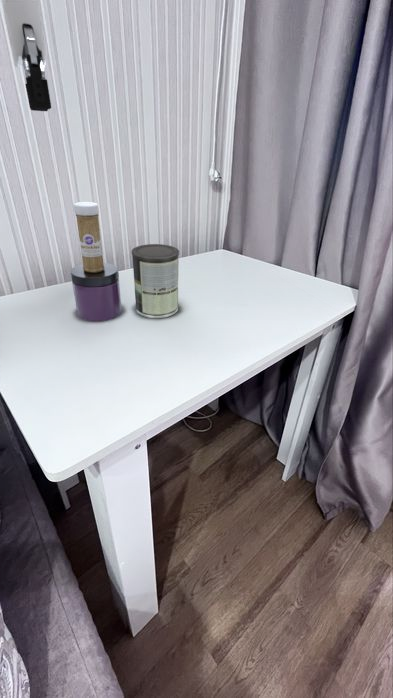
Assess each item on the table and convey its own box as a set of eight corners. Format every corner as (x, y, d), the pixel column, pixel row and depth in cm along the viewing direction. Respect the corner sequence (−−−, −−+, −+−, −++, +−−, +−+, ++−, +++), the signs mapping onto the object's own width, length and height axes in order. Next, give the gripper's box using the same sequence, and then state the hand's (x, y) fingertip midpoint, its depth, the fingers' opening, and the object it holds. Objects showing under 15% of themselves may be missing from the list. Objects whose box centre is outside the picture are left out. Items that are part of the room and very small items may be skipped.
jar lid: (74, 289, 67) (73, 280, 66) (69, 272, 75) (68, 264, 74) (123, 283, 71) (122, 275, 70) (113, 268, 78) (112, 260, 77)
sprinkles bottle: (84, 274, 69) (74, 205, 62) (82, 267, 73) (72, 201, 66) (106, 272, 71) (99, 204, 64) (103, 265, 74) (95, 200, 67)
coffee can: (126, 310, 79) (121, 250, 71) (155, 296, 86) (153, 241, 78) (159, 323, 74) (157, 261, 66) (187, 307, 81) (188, 250, 73)
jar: (80, 324, 72) (73, 283, 67) (75, 305, 79) (68, 267, 74) (126, 317, 75) (122, 277, 70) (116, 300, 83) (113, 263, 78)
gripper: (-8, -14, 56) (18, 110, 65) (-17, -57, 43) (16, 105, 52) (40, -6, 59) (58, 112, 68) (45, -44, 46) (67, 109, 55)
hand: (40, 109), depth 60 cm, fingers open, 9 cm apart
